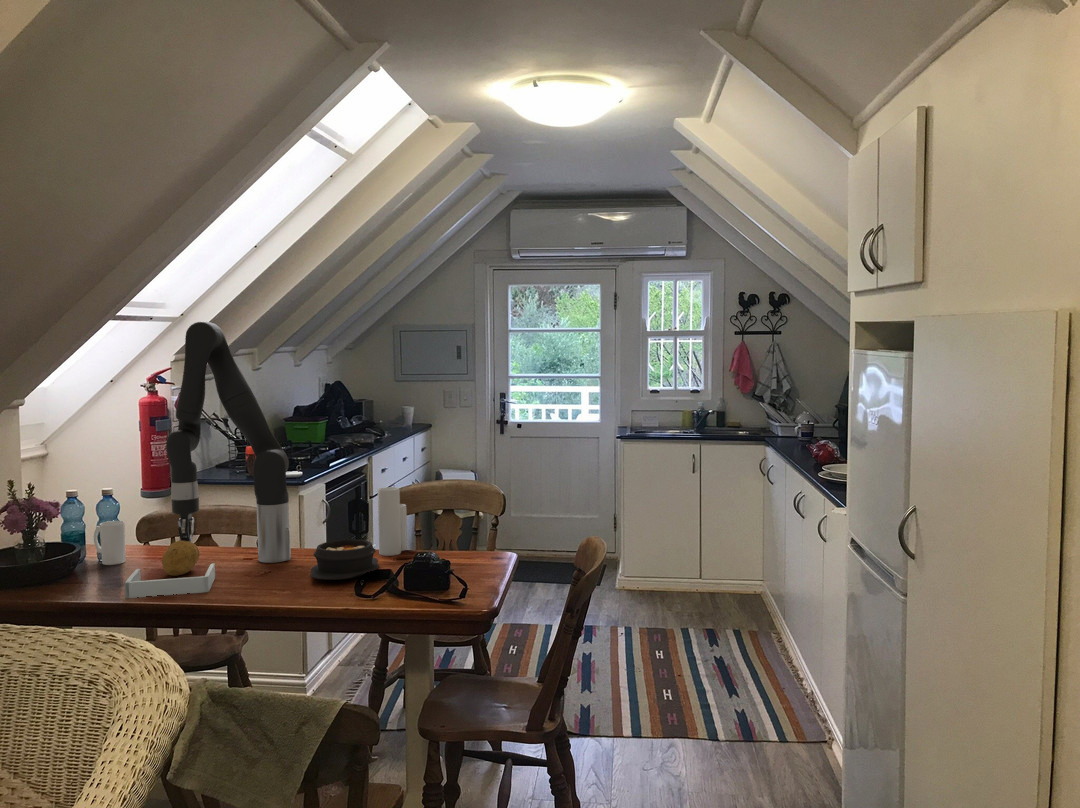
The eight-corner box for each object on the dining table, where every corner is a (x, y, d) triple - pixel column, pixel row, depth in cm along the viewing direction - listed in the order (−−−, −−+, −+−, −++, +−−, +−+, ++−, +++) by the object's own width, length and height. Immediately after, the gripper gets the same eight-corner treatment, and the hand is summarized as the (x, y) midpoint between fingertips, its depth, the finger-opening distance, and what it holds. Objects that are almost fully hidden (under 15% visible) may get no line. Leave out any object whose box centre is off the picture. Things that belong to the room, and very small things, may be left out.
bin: (215, 577, 240) (214, 563, 239) (208, 592, 225) (208, 576, 225) (136, 583, 235) (136, 568, 234) (125, 598, 220) (124, 583, 220)
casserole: (359, 587, 228) (358, 556, 227) (293, 585, 231) (292, 554, 230) (392, 564, 252) (392, 536, 252) (332, 562, 255) (331, 534, 255)
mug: (131, 560, 261) (129, 521, 261) (115, 565, 255) (113, 525, 254) (103, 558, 264) (101, 520, 263) (86, 564, 257) (84, 524, 257)
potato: (150, 546, 238) (183, 543, 238) (173, 538, 251) (204, 535, 251) (154, 580, 238) (187, 577, 238) (176, 571, 251) (208, 567, 251)
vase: (396, 556, 262) (395, 490, 261) (374, 555, 264) (372, 490, 262) (409, 547, 273) (408, 484, 272) (387, 547, 275) (386, 484, 273)
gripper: (195, 499, 251) (197, 558, 252) (201, 492, 264) (203, 548, 265) (167, 501, 249) (170, 560, 250) (175, 493, 262) (177, 550, 263)
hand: (187, 554), depth 257 cm, fingers closed
